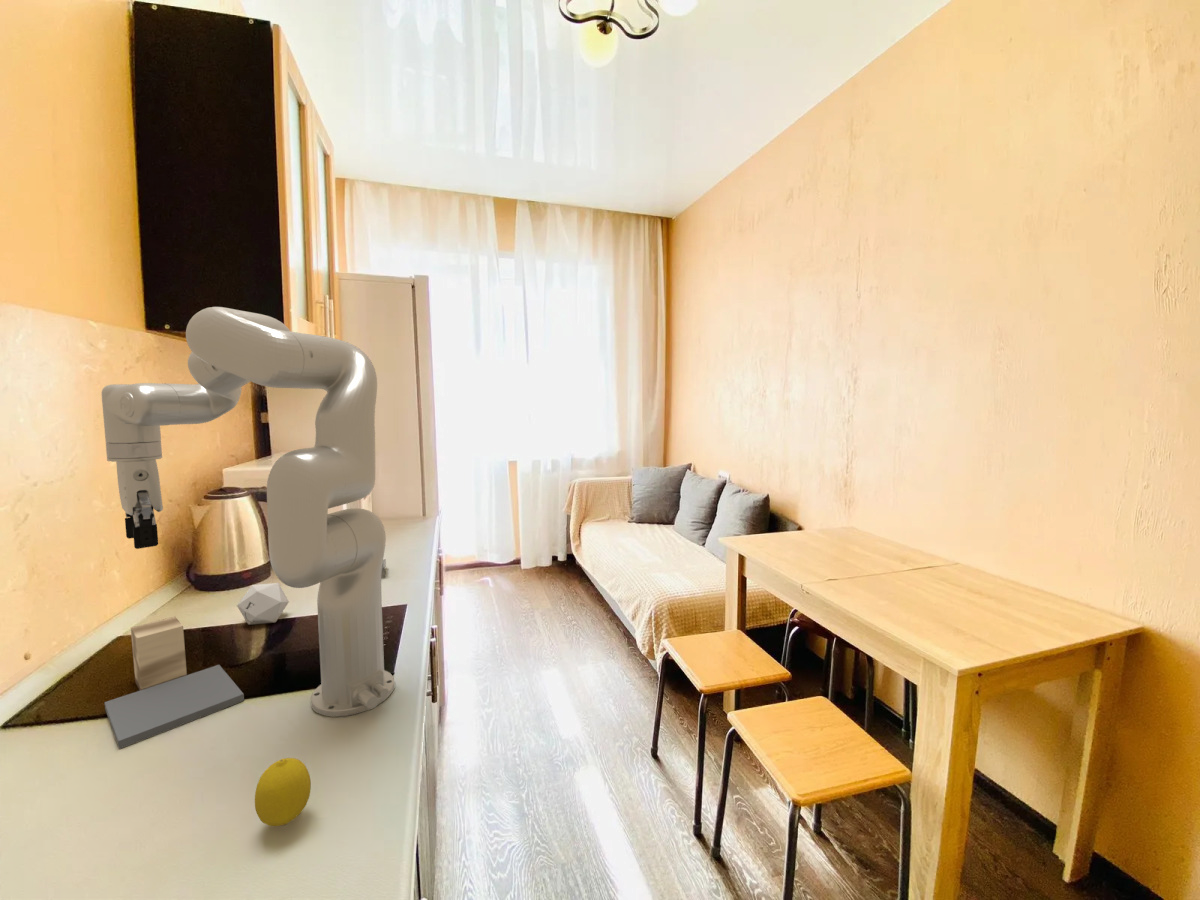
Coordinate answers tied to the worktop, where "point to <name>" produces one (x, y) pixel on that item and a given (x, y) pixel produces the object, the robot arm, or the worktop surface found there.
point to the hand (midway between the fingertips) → (142, 541)
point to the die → (263, 603)
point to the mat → (171, 704)
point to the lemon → (282, 792)
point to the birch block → (158, 652)
